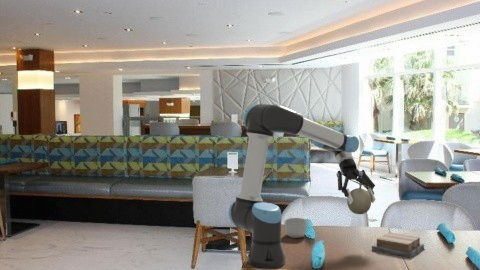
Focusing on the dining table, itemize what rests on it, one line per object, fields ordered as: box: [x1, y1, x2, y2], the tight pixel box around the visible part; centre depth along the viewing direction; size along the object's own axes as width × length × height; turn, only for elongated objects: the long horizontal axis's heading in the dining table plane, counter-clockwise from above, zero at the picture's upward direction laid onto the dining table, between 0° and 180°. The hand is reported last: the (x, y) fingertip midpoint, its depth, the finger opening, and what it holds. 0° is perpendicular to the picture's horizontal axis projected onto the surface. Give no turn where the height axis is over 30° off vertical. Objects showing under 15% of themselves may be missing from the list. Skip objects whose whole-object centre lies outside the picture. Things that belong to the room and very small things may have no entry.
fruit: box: [346, 179, 374, 215], centre depth 223 cm, size 10×12×15 cm
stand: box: [371, 232, 425, 258], centre depth 219 cm, size 17×17×5 cm
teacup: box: [283, 217, 308, 239], centre depth 242 cm, size 14×11×8 cm
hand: (362, 201), depth 221 cm, fingers closed on fruit, 10 cm apart
